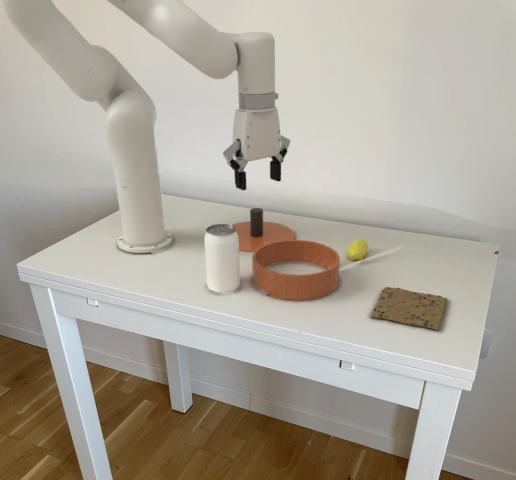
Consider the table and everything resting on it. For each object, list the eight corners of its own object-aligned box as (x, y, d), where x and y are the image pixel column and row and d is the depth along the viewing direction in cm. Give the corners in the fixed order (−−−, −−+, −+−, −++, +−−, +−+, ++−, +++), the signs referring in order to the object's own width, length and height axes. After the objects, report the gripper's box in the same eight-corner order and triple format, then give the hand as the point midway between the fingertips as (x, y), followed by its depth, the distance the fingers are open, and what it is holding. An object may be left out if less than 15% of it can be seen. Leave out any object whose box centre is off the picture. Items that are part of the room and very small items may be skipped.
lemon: (371, 253, 121) (373, 236, 118) (360, 266, 115) (361, 249, 113) (353, 249, 122) (354, 233, 120) (341, 262, 116) (342, 246, 114)
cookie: (439, 331, 93) (440, 326, 92) (370, 317, 97) (370, 312, 96) (447, 300, 102) (448, 295, 101) (384, 288, 106) (384, 284, 105)
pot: (235, 277, 111) (235, 253, 108) (299, 255, 119) (300, 233, 117) (290, 309, 99) (290, 284, 96) (355, 283, 108) (358, 259, 105)
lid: (204, 236, 129) (202, 207, 125) (263, 220, 138) (263, 192, 134) (248, 261, 117) (248, 230, 113) (310, 241, 126) (312, 212, 122)
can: (227, 297, 103) (225, 238, 97) (200, 289, 106) (196, 231, 100) (246, 284, 108) (245, 227, 101) (219, 276, 111) (217, 220, 104)
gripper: (277, 94, 118) (278, 173, 127) (211, 104, 109) (217, 188, 119) (300, 98, 113) (298, 180, 122) (233, 109, 104) (236, 196, 114)
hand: (258, 184), depth 120 cm, fingers open, 9 cm apart
